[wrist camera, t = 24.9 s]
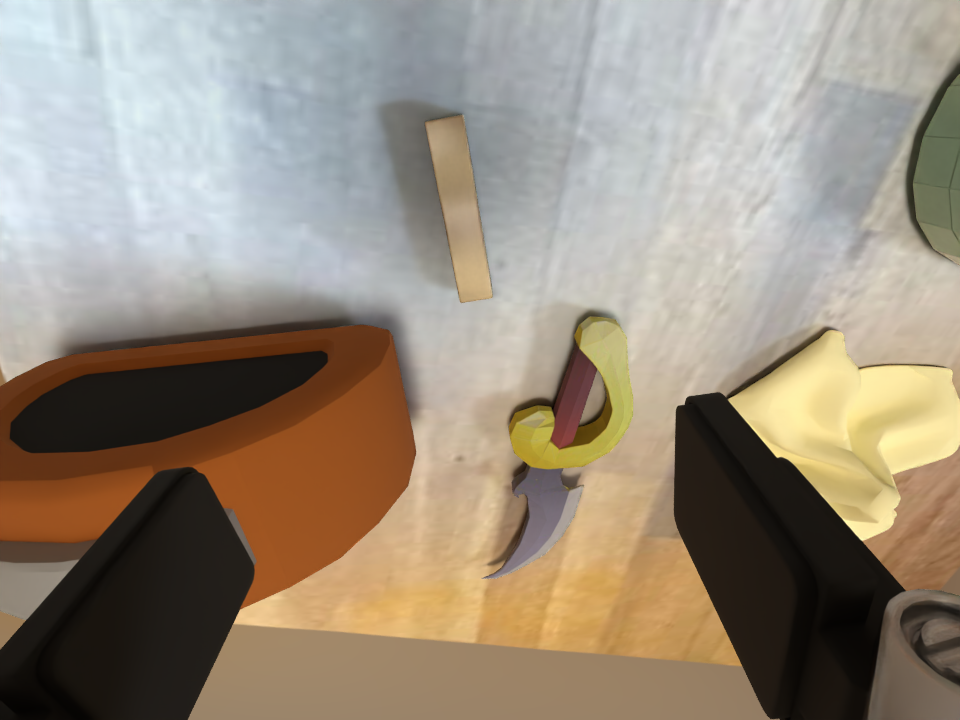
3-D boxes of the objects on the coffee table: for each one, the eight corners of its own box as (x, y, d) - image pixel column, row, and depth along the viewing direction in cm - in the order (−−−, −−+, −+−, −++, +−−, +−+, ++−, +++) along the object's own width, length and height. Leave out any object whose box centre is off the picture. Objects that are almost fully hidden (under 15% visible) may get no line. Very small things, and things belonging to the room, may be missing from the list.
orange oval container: (402, 310, 32) (336, 489, 17) (424, 423, 36) (386, 647, 21) (58, 346, 33) (-287, 543, 18) (118, 452, 37) (-122, 684, 22)
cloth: (760, 314, 32) (818, 357, 27) (1012, 358, 34) (1116, 407, 28) (647, 552, 42) (673, 618, 37) (846, 577, 44) (899, 644, 38)
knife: (549, 576, 43) (659, 324, 32) (553, 603, 41) (674, 341, 30) (463, 562, 43) (546, 299, 31) (462, 589, 40) (552, 314, 29)
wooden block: (427, 120, 27) (423, 121, 25) (463, 114, 27) (462, 114, 25) (461, 292, 31) (460, 303, 29) (492, 287, 31) (492, 298, 29)
